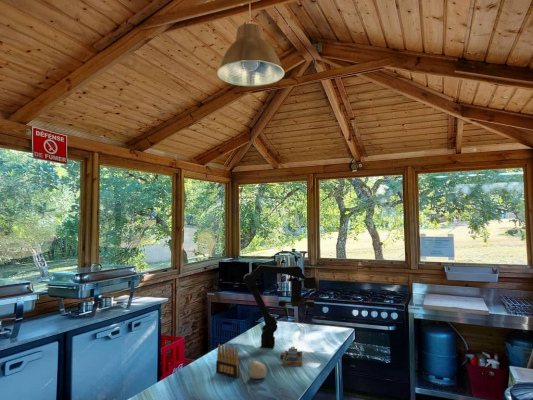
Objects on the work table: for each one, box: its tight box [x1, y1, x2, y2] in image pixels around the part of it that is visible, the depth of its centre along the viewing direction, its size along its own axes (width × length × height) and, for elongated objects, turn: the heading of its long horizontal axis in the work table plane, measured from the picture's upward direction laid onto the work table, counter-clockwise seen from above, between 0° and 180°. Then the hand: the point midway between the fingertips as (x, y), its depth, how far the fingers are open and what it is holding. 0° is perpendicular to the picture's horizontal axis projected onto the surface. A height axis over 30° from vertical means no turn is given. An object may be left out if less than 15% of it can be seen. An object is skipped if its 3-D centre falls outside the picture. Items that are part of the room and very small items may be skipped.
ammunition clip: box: [215, 342, 240, 379], centre depth 153 cm, size 11×2×12 cm, turn 59°
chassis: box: [280, 350, 304, 367], centre depth 171 cm, size 10×14×2 cm
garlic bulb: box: [249, 358, 267, 380], centre depth 150 cm, size 7×6×8 cm
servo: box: [287, 346, 298, 361], centre depth 170 cm, size 4×9×6 cm, turn 174°
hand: (296, 320), depth 193 cm, fingers open, 9 cm apart
